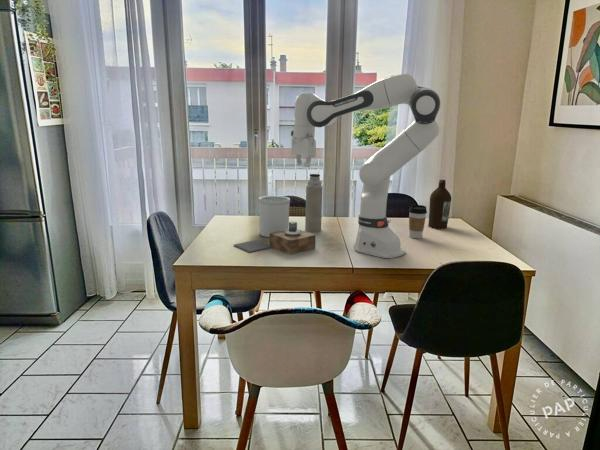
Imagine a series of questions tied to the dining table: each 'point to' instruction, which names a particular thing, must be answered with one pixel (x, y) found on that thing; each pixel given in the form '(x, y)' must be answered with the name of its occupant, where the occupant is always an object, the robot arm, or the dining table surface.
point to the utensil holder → (273, 214)
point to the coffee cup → (416, 220)
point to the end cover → (292, 229)
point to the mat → (253, 246)
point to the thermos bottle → (313, 204)
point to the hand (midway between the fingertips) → (302, 165)
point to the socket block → (292, 242)
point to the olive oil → (439, 207)
